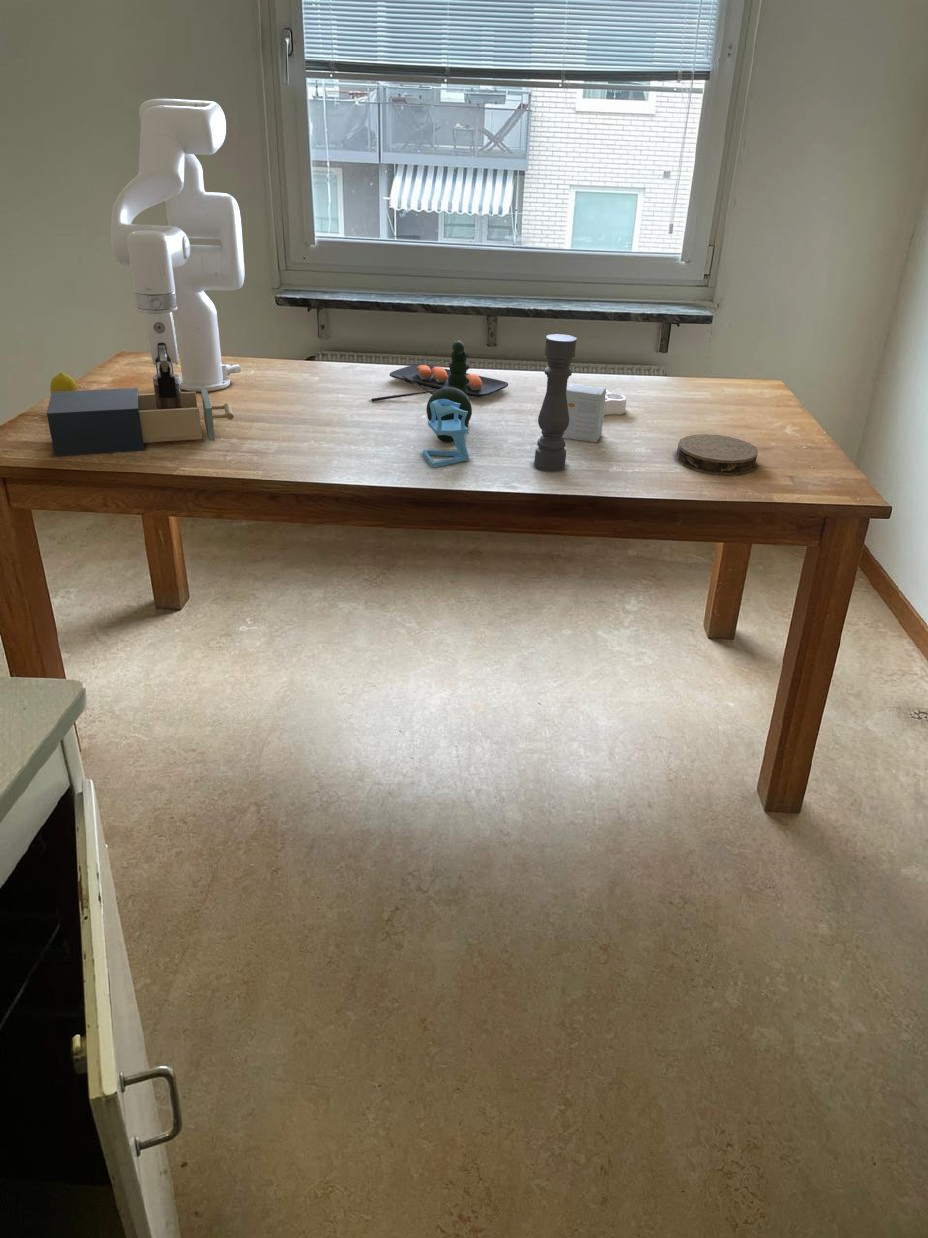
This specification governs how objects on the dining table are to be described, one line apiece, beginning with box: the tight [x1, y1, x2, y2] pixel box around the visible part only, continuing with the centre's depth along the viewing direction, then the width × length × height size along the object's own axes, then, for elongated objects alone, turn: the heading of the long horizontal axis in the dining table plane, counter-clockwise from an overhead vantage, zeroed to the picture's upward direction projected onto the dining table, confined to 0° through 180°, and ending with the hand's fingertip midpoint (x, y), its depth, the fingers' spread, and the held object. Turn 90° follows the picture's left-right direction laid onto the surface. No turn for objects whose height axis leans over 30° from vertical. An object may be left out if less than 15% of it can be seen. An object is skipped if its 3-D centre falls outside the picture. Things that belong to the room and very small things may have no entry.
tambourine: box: [676, 433, 759, 476], centre depth 183 cm, size 16×16×3 cm
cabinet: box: [46, 387, 145, 457], centre depth 178 cm, size 16×14×8 cm
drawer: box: [138, 389, 235, 444], centre depth 183 cm, size 20×13×7 cm
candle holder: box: [533, 333, 577, 472], centre depth 172 cm, size 6×6×25 cm
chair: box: [422, 399, 470, 468], centre depth 176 cm, size 8×8×12 cm
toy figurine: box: [426, 340, 473, 444], centre depth 189 cm, size 9×19×25 cm
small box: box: [562, 383, 607, 443], centre depth 192 cm, size 8×6×10 cm
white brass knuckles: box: [603, 388, 627, 416], centre depth 212 cm, size 3×18×15 cm
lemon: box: [49, 372, 79, 394], centre depth 195 cm, size 6×6×8 cm
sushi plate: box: [370, 363, 509, 402], centre depth 217 cm, size 29×30×4 cm
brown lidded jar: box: [152, 373, 183, 410], centre depth 180 cm, size 5×5×10 cm
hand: (167, 390), depth 179 cm, fingers open, 9 cm apart
